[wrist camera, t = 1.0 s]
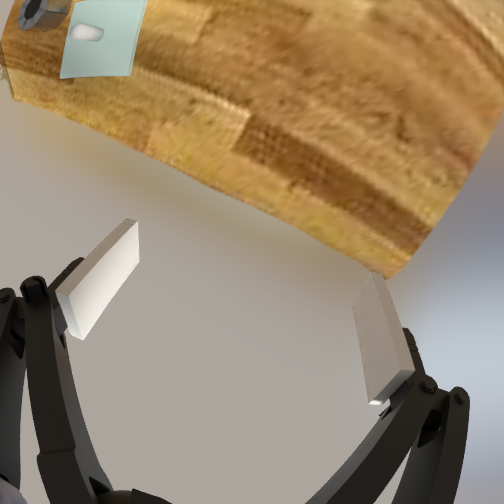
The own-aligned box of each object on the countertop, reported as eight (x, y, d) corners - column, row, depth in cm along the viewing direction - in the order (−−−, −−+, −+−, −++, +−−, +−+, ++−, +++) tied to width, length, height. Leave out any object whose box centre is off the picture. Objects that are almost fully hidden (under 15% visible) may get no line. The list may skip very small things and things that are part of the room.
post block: (78, 3, 24) (53, -2, 19) (150, -8, 24) (129, -21, 19) (63, 78, 32) (36, 81, 26) (130, 76, 32) (105, 75, 26)
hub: (46, -3, 22) (25, -7, 17) (76, -13, 22) (54, -19, 17) (37, 33, 26) (14, 33, 21) (65, 26, 26) (41, 23, 21)
